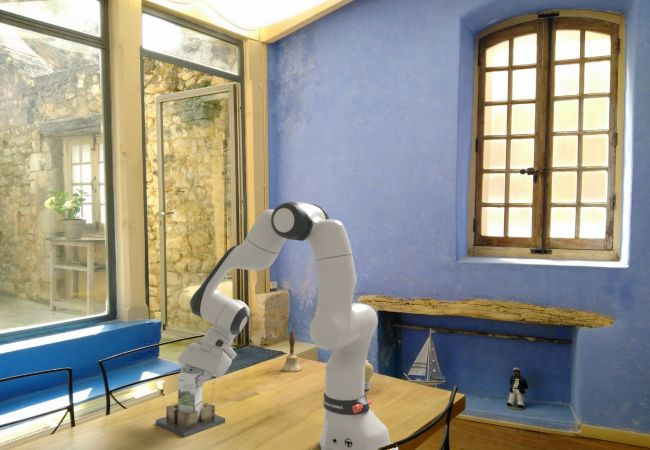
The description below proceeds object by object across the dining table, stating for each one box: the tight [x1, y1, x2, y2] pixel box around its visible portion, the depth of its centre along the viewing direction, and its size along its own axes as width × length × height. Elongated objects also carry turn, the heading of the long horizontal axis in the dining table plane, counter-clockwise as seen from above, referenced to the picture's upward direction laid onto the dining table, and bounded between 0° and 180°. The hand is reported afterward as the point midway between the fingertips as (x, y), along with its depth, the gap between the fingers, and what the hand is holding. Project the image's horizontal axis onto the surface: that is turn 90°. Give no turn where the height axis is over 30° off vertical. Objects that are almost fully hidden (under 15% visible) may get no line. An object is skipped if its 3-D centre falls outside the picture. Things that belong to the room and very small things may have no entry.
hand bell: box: [281, 330, 303, 373], centre depth 222 cm, size 8×8×16 cm
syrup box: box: [177, 370, 203, 420], centre depth 164 cm, size 6×6×14 cm
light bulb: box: [364, 361, 375, 391], centre depth 197 cm, size 6×6×10 cm
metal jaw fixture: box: [155, 400, 226, 438], centre depth 164 cm, size 15×15×5 cm
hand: (188, 382), depth 163 cm, fingers open, 8 cm apart
